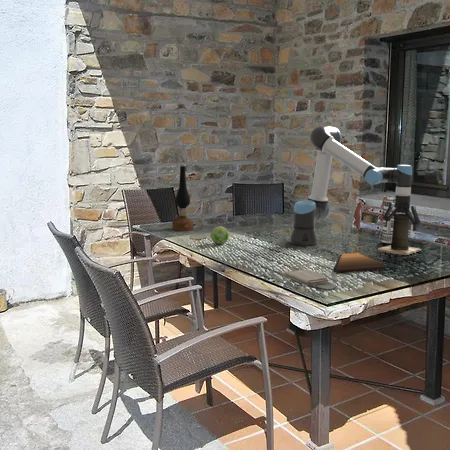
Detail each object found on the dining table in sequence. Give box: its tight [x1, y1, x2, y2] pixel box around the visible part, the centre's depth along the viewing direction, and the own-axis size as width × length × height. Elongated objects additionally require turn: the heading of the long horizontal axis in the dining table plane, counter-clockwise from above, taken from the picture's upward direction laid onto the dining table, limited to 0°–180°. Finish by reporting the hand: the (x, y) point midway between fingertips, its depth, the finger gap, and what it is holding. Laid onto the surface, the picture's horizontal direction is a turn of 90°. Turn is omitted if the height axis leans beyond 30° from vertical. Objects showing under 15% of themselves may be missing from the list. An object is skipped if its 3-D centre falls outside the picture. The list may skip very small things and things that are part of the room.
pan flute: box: [333, 252, 387, 274], centre depth 270 cm, size 25×3×25 cm
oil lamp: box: [171, 165, 194, 232], centre depth 355 cm, size 14×15×40 cm
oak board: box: [377, 244, 422, 256], centre depth 300 cm, size 16×16×2 cm
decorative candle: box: [380, 197, 399, 244], centre depth 323 cm, size 9×9×25 cm
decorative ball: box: [210, 225, 230, 245], centre depth 313 cm, size 10×10×10 cm
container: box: [390, 213, 410, 250], centre depth 298 cm, size 9×9×18 cm
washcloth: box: [284, 268, 329, 287], centre depth 244 cm, size 12×18×3 cm, turn 28°
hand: (400, 235), depth 299 cm, fingers open, 13 cm apart
